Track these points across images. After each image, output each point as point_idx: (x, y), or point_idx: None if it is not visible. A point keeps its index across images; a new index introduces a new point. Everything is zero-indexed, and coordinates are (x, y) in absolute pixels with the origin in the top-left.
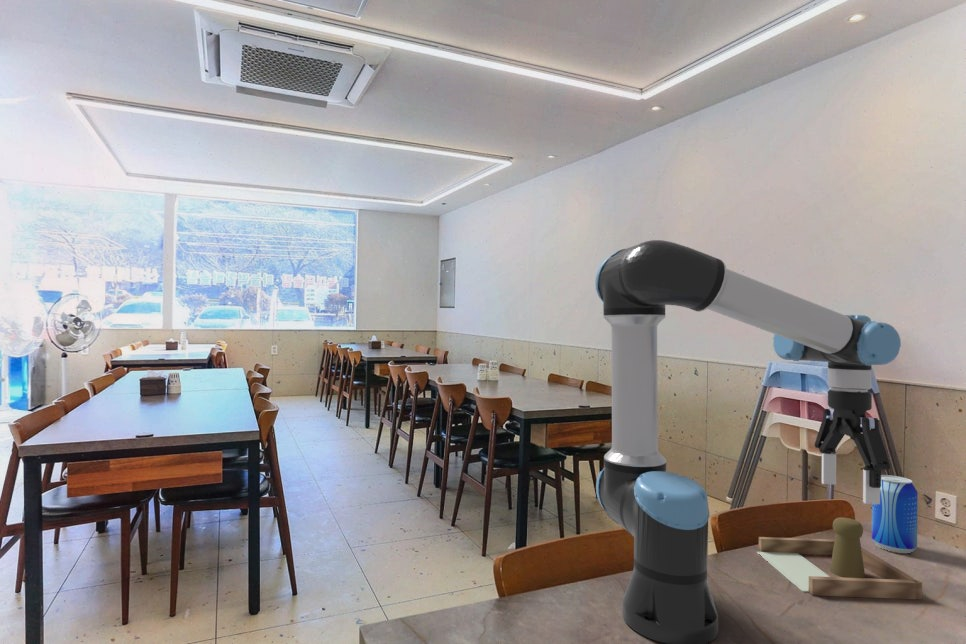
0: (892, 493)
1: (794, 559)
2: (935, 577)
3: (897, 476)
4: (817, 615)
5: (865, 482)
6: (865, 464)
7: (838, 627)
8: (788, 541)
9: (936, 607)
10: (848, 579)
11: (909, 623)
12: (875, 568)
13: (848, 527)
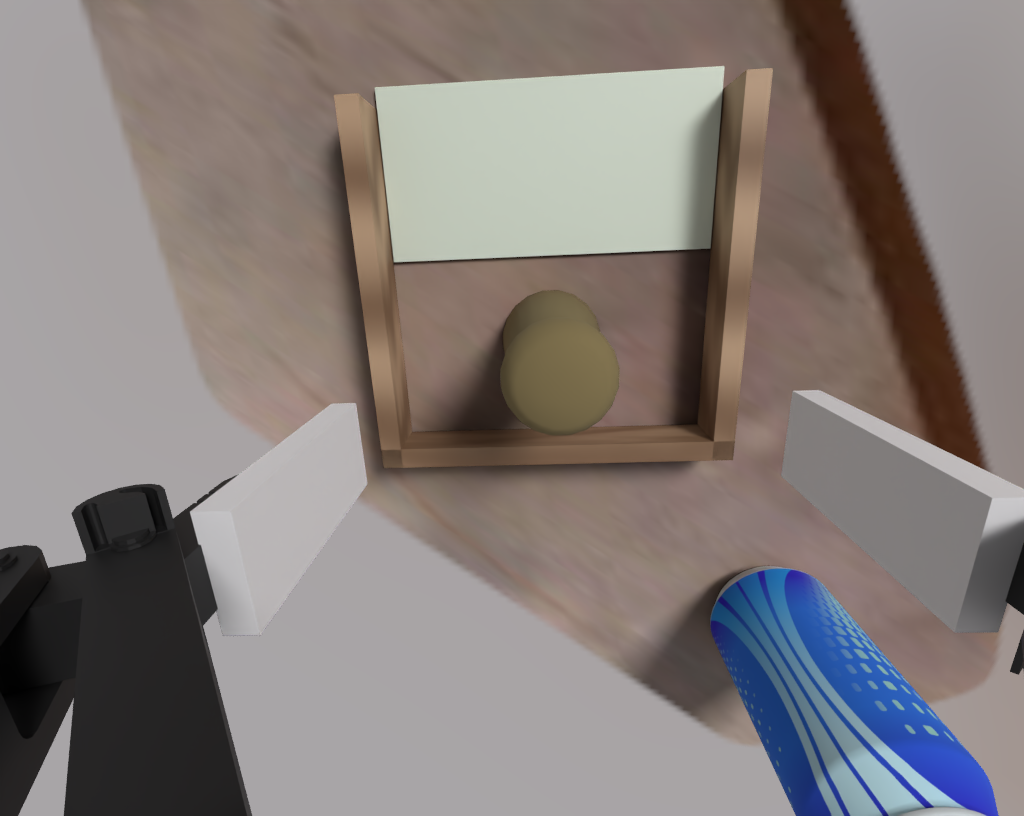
0: (829, 760)
1: (648, 201)
2: (550, 577)
3: None
4: (210, 49)
5: (263, 456)
6: (169, 549)
7: (149, 81)
8: (732, 207)
9: None
10: (362, 242)
11: (240, 321)
12: None
13: (508, 355)
